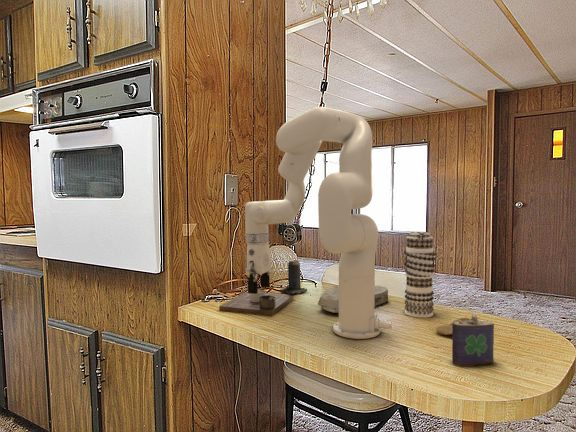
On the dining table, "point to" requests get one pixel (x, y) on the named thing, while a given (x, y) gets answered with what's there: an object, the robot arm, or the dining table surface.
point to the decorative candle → (419, 274)
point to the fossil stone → (331, 298)
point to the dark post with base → (294, 278)
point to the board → (254, 304)
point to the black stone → (267, 302)
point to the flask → (472, 342)
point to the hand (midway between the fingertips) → (259, 289)
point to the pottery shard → (449, 327)
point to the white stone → (257, 296)
